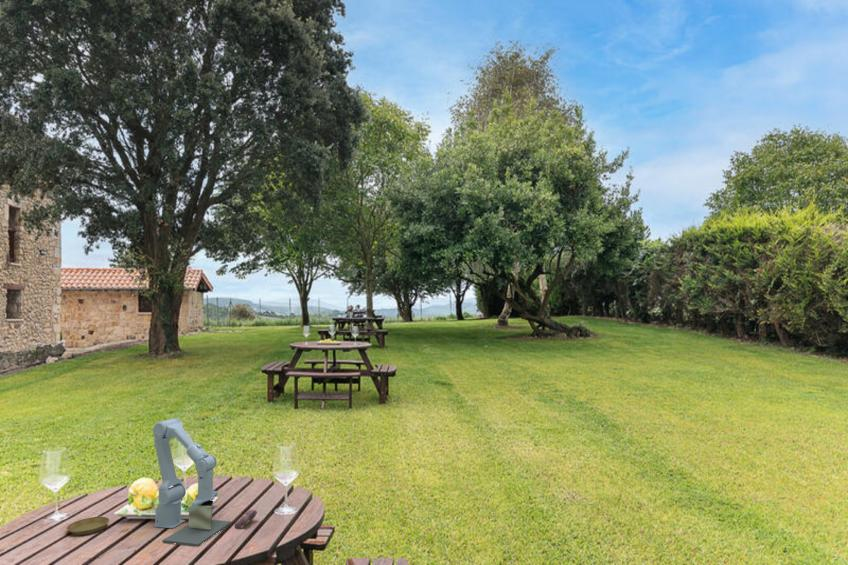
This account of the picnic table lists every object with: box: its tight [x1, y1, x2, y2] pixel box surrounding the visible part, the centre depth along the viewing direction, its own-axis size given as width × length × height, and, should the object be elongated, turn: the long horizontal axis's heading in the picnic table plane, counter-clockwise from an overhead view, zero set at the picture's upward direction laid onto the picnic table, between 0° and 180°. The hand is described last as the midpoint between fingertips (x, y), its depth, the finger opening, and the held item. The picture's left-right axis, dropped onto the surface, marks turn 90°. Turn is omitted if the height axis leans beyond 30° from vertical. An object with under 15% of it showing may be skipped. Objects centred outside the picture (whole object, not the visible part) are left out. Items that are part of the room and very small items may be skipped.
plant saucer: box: [66, 516, 110, 536], centre depth 208 cm, size 15×15×3 cm
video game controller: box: [234, 508, 258, 529], centre depth 213 cm, size 10×5×7 cm, turn 169°
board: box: [161, 519, 232, 547], centre depth 205 cm, size 16×22×1 cm
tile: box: [188, 503, 213, 530], centre depth 206 cm, size 9×10×1 cm
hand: (204, 519), depth 208 cm, fingers closed
